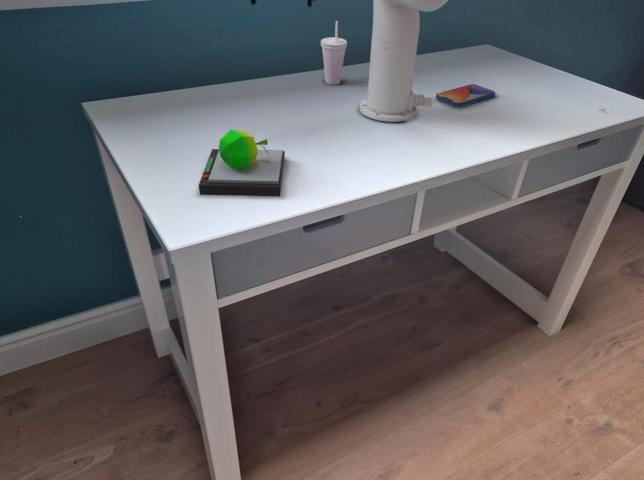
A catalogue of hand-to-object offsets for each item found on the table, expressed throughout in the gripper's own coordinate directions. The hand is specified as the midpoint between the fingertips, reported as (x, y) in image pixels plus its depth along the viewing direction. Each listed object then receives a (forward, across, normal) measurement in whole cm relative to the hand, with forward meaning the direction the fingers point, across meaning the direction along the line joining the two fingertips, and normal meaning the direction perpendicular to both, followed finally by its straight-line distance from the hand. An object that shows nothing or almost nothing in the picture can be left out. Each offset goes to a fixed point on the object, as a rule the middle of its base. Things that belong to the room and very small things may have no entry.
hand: (281, 4), depth 86 cm
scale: (+23, -6, -19) cm, 31 cm away
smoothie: (+24, +10, +30) cm, 39 cm away
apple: (+21, -6, -19) cm, 29 cm away
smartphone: (+23, +42, +22) cm, 53 cm away
